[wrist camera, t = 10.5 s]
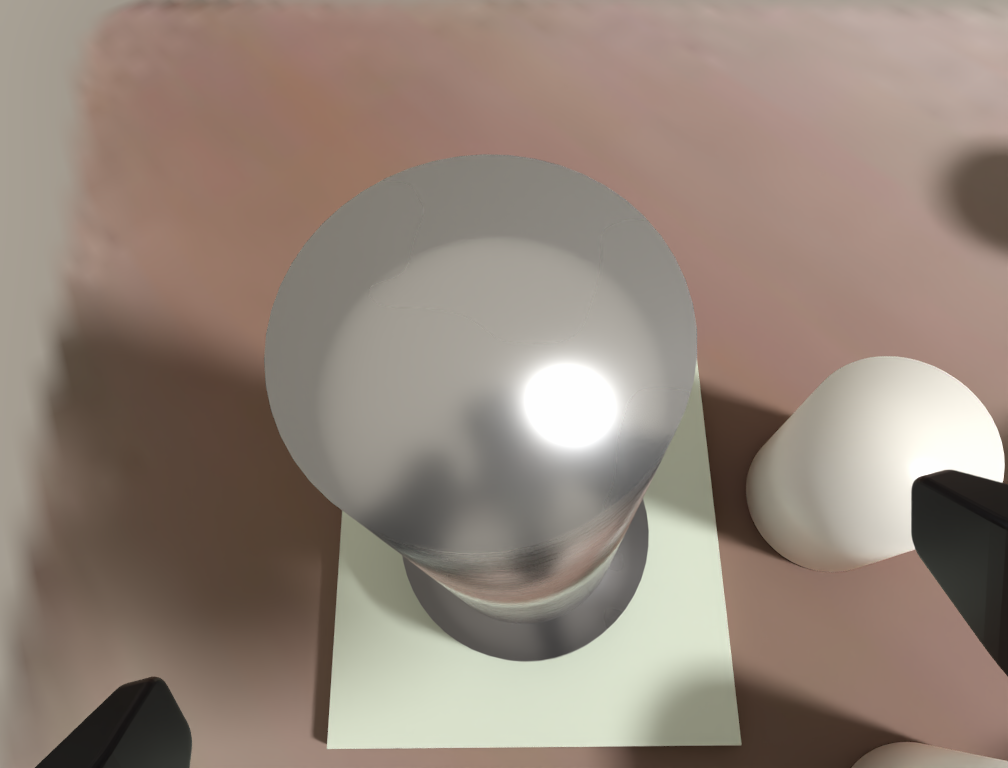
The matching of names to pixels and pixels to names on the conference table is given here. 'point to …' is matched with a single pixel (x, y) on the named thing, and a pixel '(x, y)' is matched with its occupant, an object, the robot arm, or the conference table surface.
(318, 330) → the silver cylinder
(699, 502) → the sage mat
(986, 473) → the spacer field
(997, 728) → the conference table surface
